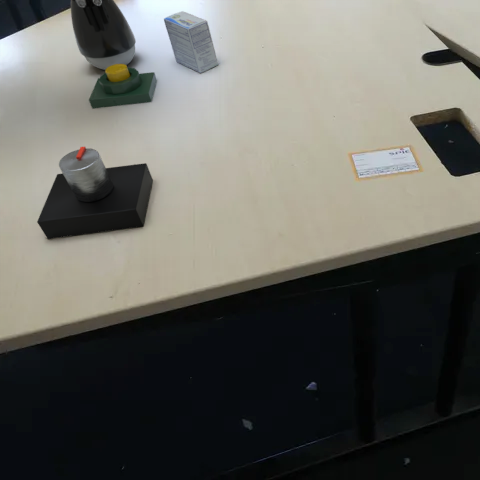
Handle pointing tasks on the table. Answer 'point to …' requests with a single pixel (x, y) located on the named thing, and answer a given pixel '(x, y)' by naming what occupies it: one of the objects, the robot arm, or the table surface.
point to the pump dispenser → (104, 37)
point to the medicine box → (191, 41)
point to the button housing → (123, 90)
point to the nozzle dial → (86, 174)
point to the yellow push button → (117, 72)
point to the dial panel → (98, 205)
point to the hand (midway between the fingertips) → (102, 28)
